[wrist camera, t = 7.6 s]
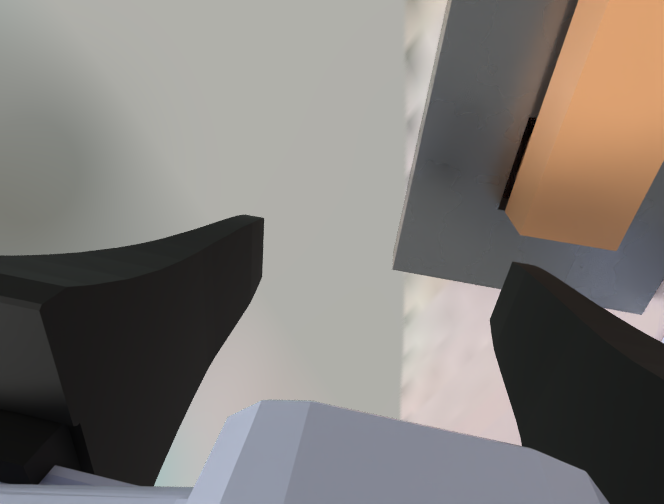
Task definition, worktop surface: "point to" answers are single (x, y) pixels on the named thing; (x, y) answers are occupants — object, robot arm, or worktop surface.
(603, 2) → the clip
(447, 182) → the gray rectangular slab
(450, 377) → the worktop surface
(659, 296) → the worktop surface
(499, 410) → the worktop surface
